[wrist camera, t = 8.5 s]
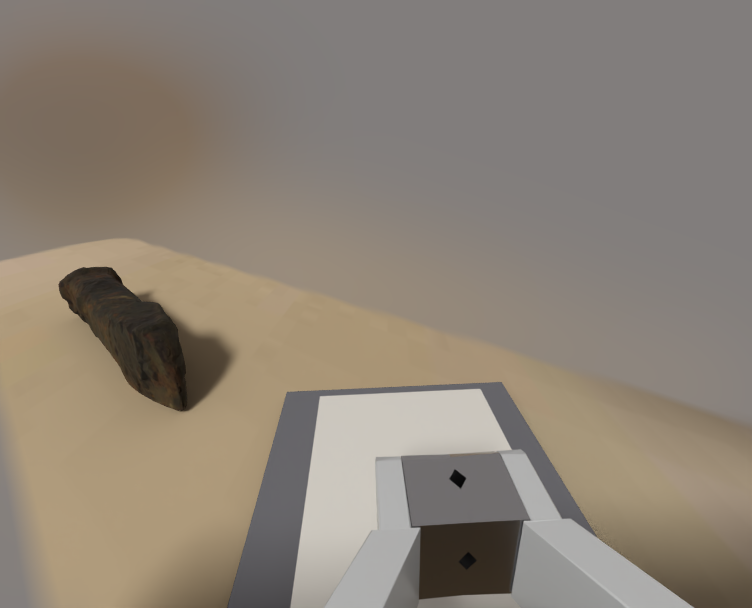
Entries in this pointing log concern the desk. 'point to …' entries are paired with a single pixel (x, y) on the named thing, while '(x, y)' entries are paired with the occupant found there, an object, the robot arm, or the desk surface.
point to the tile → (358, 479)
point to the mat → (290, 479)
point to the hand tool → (130, 333)
